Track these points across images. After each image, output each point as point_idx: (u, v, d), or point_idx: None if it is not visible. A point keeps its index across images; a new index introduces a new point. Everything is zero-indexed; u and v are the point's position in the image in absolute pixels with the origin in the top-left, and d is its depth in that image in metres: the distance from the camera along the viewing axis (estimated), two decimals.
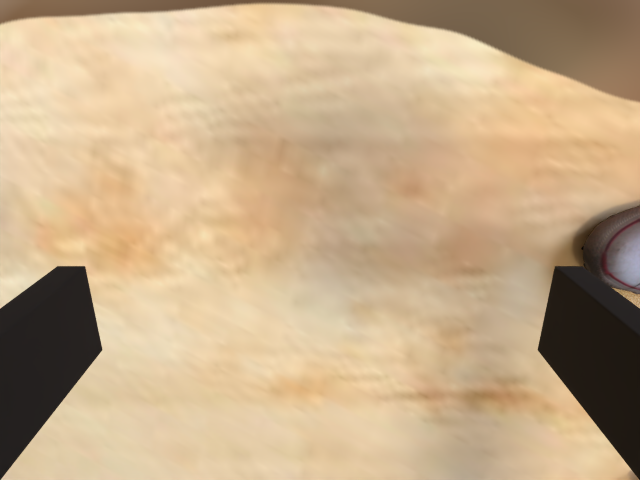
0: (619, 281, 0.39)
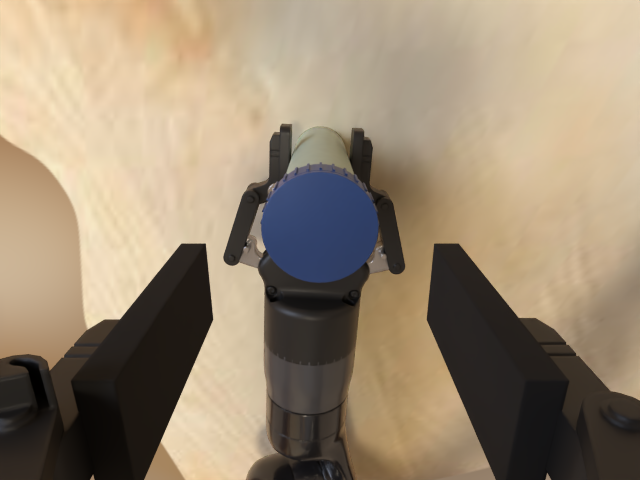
0: None
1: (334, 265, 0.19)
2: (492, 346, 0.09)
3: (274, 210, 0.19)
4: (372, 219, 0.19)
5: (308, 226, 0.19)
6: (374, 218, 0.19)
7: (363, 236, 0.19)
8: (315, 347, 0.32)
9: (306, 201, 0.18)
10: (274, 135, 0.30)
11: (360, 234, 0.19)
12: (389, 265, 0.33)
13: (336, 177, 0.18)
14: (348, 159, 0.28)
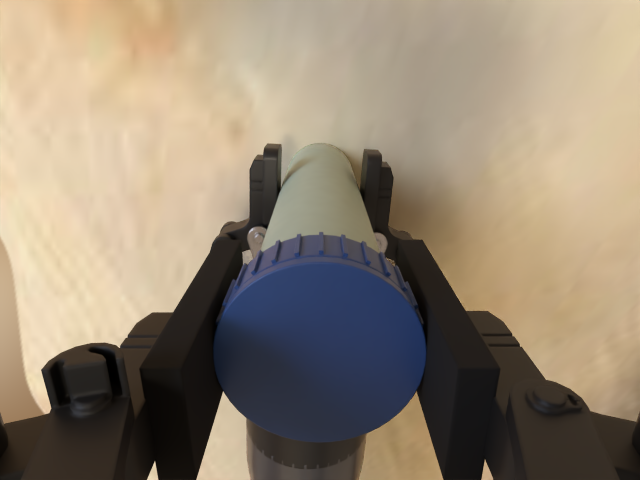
0: None
1: (345, 416, 0.11)
2: (437, 337, 0.09)
3: (235, 328, 0.10)
4: (416, 342, 0.10)
5: (299, 353, 0.10)
6: (419, 340, 0.10)
7: (398, 370, 0.10)
8: (313, 446, 0.24)
9: (294, 312, 0.10)
10: (256, 160, 0.21)
11: (393, 367, 0.10)
12: None
13: (350, 271, 0.10)
14: (360, 197, 0.20)
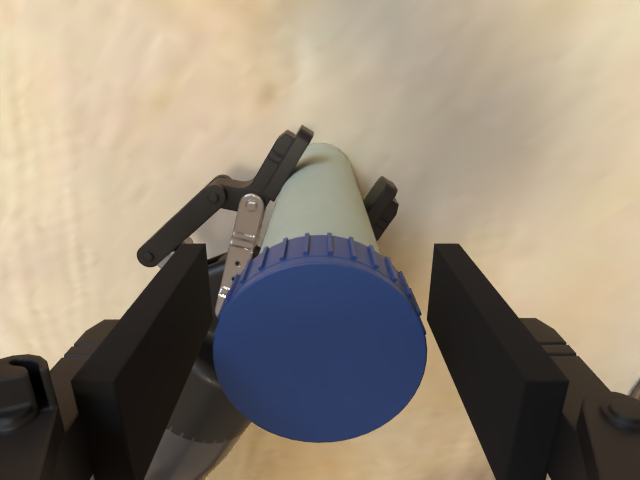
0: None
1: (387, 385, 0.11)
2: (492, 346, 0.09)
3: (237, 386, 0.11)
4: (375, 287, 0.10)
5: (300, 368, 0.10)
6: (377, 283, 0.10)
7: (387, 318, 0.10)
8: (200, 419, 0.23)
9: (263, 342, 0.10)
10: (286, 135, 0.21)
11: (380, 319, 0.10)
12: None
13: (266, 280, 0.10)
14: None
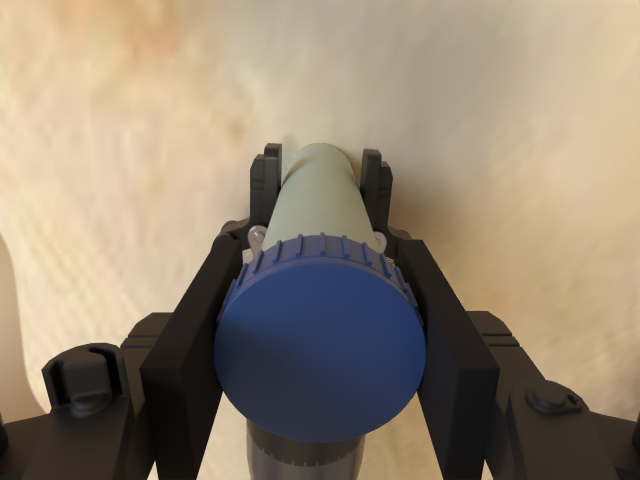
0: None
1: (395, 355, 0.10)
2: (437, 337, 0.09)
3: (264, 415, 0.11)
4: (327, 272, 0.10)
5: (306, 375, 0.10)
6: (326, 268, 0.10)
7: (355, 295, 0.10)
8: (313, 444, 0.24)
9: (261, 367, 0.10)
10: (256, 160, 0.21)
11: (350, 299, 0.10)
12: None
13: (229, 313, 0.10)
14: (360, 196, 0.20)
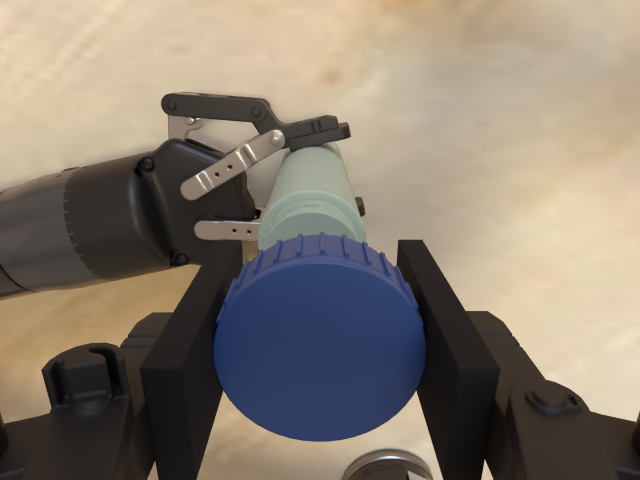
0: None
1: (395, 354, 0.10)
2: (437, 337, 0.09)
3: (264, 414, 0.11)
4: (327, 271, 0.10)
5: (307, 374, 0.11)
6: (326, 267, 0.10)
7: (355, 294, 0.10)
8: (102, 245, 0.25)
9: (261, 366, 0.10)
10: (336, 120, 0.26)
11: (350, 298, 0.10)
12: None
13: (230, 312, 0.10)
14: None
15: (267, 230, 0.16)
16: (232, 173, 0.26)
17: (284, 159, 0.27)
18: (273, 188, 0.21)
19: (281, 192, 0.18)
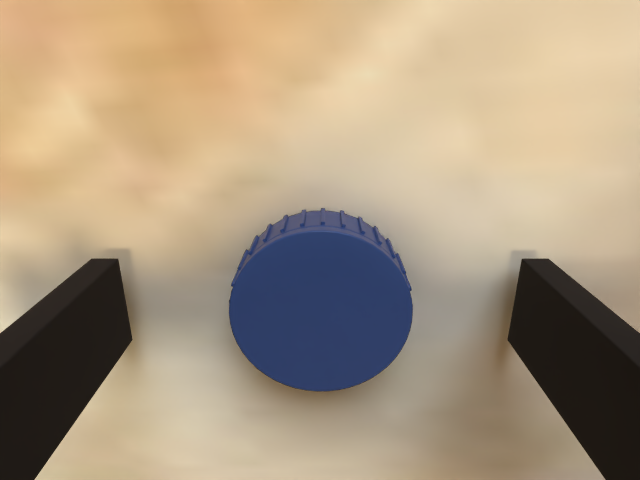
0: None
1: (385, 312, 0.12)
2: (638, 384, 0.08)
3: (272, 365, 0.13)
4: (326, 239, 0.11)
5: (309, 330, 0.12)
6: (325, 235, 0.11)
7: (350, 259, 0.11)
8: None
9: (270, 323, 0.12)
10: None
11: (346, 262, 0.12)
12: None
13: (243, 274, 0.12)
14: None
15: None
16: None
17: None
18: None
19: None
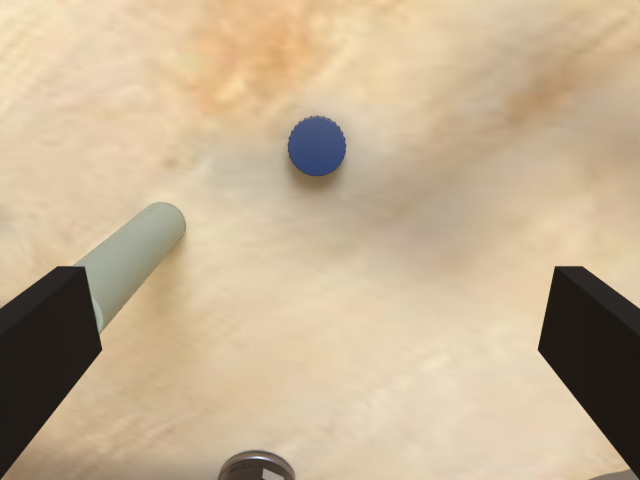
0: None
1: (336, 146, 0.39)
2: None
3: (301, 166, 0.39)
4: (318, 121, 0.38)
5: (313, 152, 0.39)
6: (318, 120, 0.38)
7: (325, 127, 0.38)
8: None
9: (301, 150, 0.39)
10: None
11: (324, 129, 0.38)
12: None
13: (293, 133, 0.38)
14: (147, 277, 0.35)
15: None
16: None
17: None
18: None
19: None
